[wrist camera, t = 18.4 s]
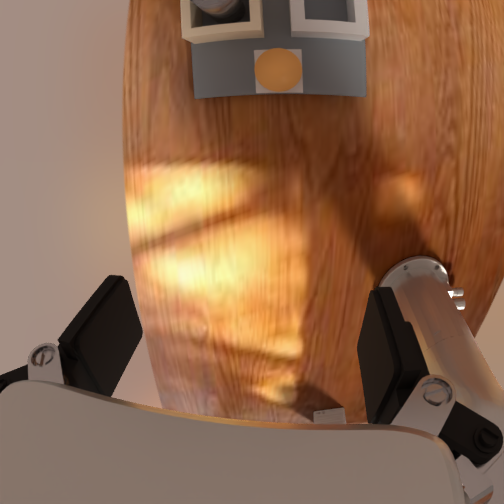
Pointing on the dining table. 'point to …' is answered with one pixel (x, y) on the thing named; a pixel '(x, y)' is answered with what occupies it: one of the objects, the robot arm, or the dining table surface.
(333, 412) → the supplement box
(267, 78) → the button
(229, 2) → the grey rounded cylinder
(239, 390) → the dining table surface
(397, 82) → the dining table surface
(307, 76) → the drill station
